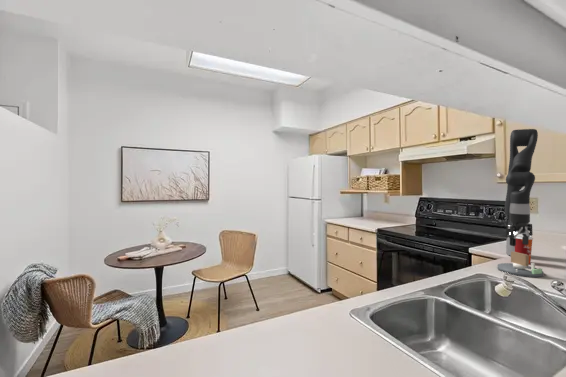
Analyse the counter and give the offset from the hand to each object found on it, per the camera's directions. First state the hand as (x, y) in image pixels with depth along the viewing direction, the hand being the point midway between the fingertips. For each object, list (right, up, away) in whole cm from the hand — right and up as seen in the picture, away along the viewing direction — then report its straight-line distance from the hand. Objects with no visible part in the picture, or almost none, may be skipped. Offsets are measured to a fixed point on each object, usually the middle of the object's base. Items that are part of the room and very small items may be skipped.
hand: (519, 245), depth 131 cm
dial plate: (0, -13, 0) cm, 13 cm away
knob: (0, -11, -2) cm, 11 cm away
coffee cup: (+15, -13, +14) cm, 24 cm away
